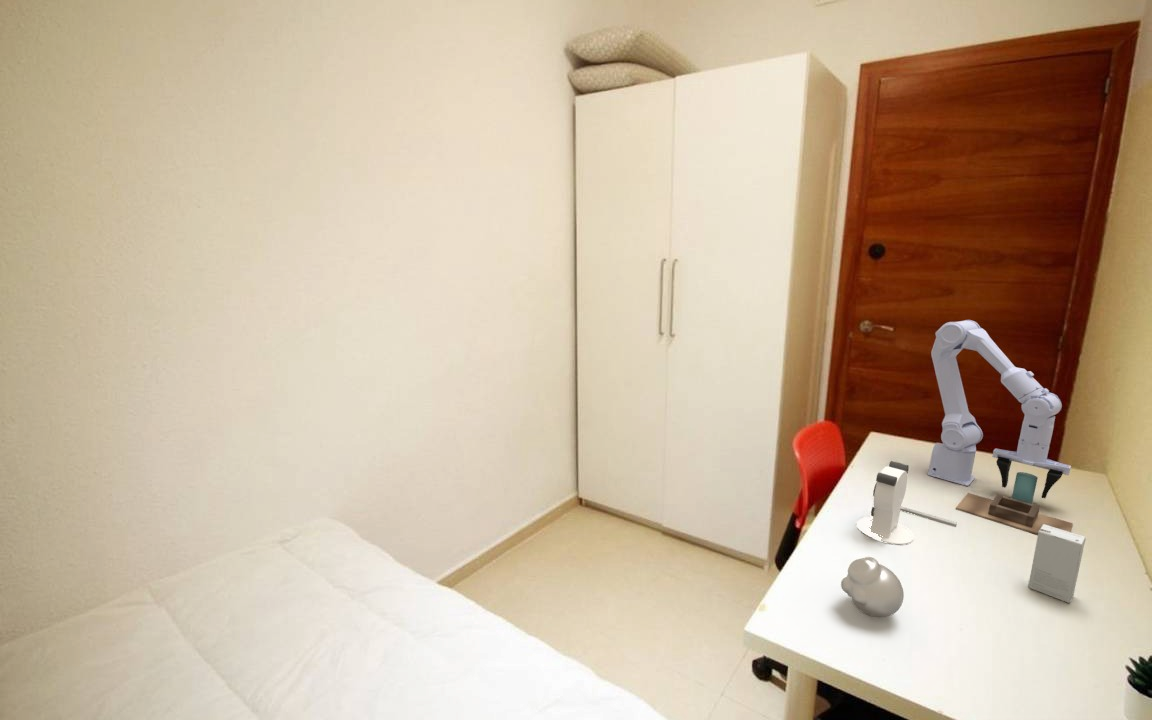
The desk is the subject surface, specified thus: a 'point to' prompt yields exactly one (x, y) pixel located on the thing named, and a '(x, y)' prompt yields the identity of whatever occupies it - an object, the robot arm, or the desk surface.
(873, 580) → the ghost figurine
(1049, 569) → the skincare box
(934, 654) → the desk surface
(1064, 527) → the peg stand
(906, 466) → the white tall piece
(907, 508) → the light grey rod
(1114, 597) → the desk surface
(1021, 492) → the teal peg
